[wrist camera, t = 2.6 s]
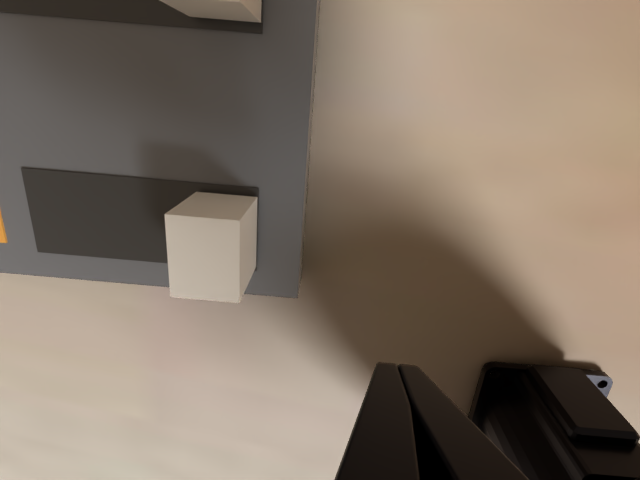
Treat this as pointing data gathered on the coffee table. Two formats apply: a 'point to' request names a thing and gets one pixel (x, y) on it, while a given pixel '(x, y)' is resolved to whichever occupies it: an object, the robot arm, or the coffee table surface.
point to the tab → (211, 246)
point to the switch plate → (150, 133)
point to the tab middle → (219, 9)
